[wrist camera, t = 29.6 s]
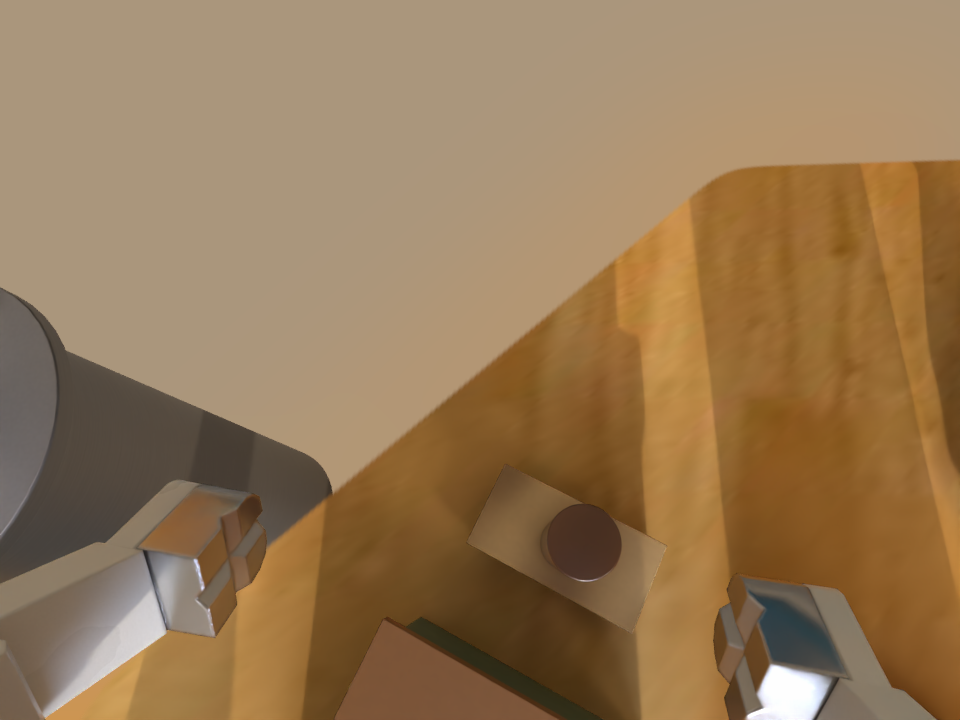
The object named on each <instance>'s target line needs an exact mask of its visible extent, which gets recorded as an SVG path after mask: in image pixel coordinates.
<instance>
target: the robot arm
mask: <svg viewBox="0 0 960 720" xmlns="http://www.w3.org/2000/svg"><path fill="white" fill-rule="evenodd" d="M261 512H262V506H261V501H260V497H259V496H257V495H255V494H253V493H248V492H243V491H238V490H233V489H228V488H222V487H217V486H212V485H207V484H198V483H193V482H188V481H183V480H175V481H172V482H170V483H168V484H167V485H166V486H165V487H164V488H163V489H162V490H160V491H159V492H158V493H157V494H156V495H155V496H154V497H153V498H152V499H151V500H150V501H149V502H148V503H147V504H146V505H145V506H144V507H143V508H142V509H141V510H140V511H139V512H138V513H136V514H135V515H134V516H133V517H132V518H131V519H130V520H129V521H128V522H127V523H126V524H125V525H124V526H123V527H122V528H121V529H120V530H119V531H118V532H117V533H116V534H115V535H114V536H112V537H111V538H110V539H109V540H108V541H107V542H106V543H100V542H96V543H94V544H91V545H89V546H87V547H84V548H82V549H80V550H77V551H75V552H73V553H71V554H68V555H66V556H64V557H61V558H59V559H57V560H54V561H52V562H50V563H47V564H45V565H43V566H40V567H38V568H36V569H34V570H31V571H29V572H27V573H24V574H22V575H20V576H17V577H15V578H13V579H10V580H8V581H6V582H3V583H1V584H0V720H45V718H46V717H47V716H48V715H50V714H51V713H53V712H54V711H56V710H57V709H59V708H60V707H61V706H62V705H64V704H66V703H67V702H69V701H70V700H71V699H73V698H74V697H76V696H77V695H79V694H80V693H81V692H83V691H84V690H86V689H87V688H89V687H90V686H91V685H93V684H94V683H95V682H97V681H99V680H100V679H102V678H103V677H104V676H106V675H107V674H109V673H110V672H111V671H113V670H114V669H116V668H117V667H119V666H120V665H122V664H123V663H124V662H126V661H127V660H129V659H130V658H132V657H133V656H135V655H136V654H137V653H139V652H140V651H142V650H143V649H145V648H146V647H147V646H149V645H150V644H152V643H153V642H155V641H156V640H157V639H159V638H160V637H162V636H163V635H165V634H166V633H167V630H171V631H177V632H183V633H189V634H195V635H200V636H206V637H212V638H215V637H216V636H217V634H218V633H219V631H220V630H221V628H222V627H223V625H224V624H225V622H226V621H227V619H228V618H229V616H230V615H231V613H232V612H233V610H234V609H235V607H236V606H237V597H236V592H237V591H239V590H241V589H242V588H244V587H246V586H248V585H249V584H251V583H252V581H253V580H254V578H255V577H256V575H257V574H258V572H259V570H260V568H261V565H262V562H263V560H264V557H265V554H266V545H267V538H266V530H265V529H264V528H263V527H262V525H261V524H260V523H259V522H258V521H257V520H256V519H257V518H258V516H259V515H260V514H261ZM727 593H728V597H729V600H730V603H729V604H727V605H725V606H723V607H722V608H720V609H719V612H718V615H717V618H716V621H715V626H714V639H713V643H714V654H715V659H716V664H717V669H718V671H719V672H720V673H721V675H722V676H723V677H724V678H725V679H726V680H727V682H728V683H729V684H730V685H729V687H728V690H727V692H726V695H725V697H724V699H725V704H726V708H727V712H728V716H729V720H937V719H935V718H934V717H933V716H932V715H931V714H930V713H929V712H928V711H926V710H925V709H924V708H923V707H922V706H921V705H920V704H918V703H917V702H916V701H915V700H914V699H913V698H912V697H911V696H909V695H908V694H907V693H906V692H905V691H904V690H900V689H895V688H892V687H891V685H890V683H889V681H888V679H887V677H886V675H885V673H884V671H883V669H882V668H881V666H880V664H879V662H878V660H877V658H876V656H875V654H874V652H873V650H872V648H871V646H870V644H869V642H868V640H867V639H866V637H865V635H864V633H863V631H862V629H861V627H860V625H859V623H858V621H857V619H856V617H855V615H854V613H853V612H852V610H851V608H850V606H849V604H848V602H847V600H846V598H845V596H844V594H842V593H841V592H840V591H839V590H838V589H836V588H829V587H823V586H816V585H810V584H800V583H796V582H790V581H783V580H777V579H771V578H764V577H758V576H751V575H745V574H739V573H736V574H735V575H734V576H733V577H732V578H731V580H730V582H729V585H728V587H727Z"/></svg>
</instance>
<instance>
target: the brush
mask: <svg viewBox="0 0 960 720" xmlns="http://www.w3.org/2000/svg"><path fill="white" fill-rule="evenodd" d="M466 543H468V544H469V545H471V546H473V547H475V548H477V549H478V550H480V551H482V552H484V553H486V554H488V555H489V556H491V557H493V558H495V559H497V560H498V561H500V562H502V563H504V564H506V565H508V566H509V567H511V568H513V569H515V570H517V571H519V572H520V573H522V574H524V575H526V576H528V577H529V578H531V579H533V580H535V581H537V582H539V583H540V584H542V585H544V586H546V587H548V588H549V589H551V590H553V591H555V592H557V593H559V594H560V595H562V596H564V597H566V598H568V599H570V600H571V601H573V602H575V603H577V604H579V605H580V606H582V607H584V608H586V609H588V610H590V611H591V612H593V613H595V614H597V615H599V616H600V617H602V618H604V619H606V620H608V621H610V622H611V623H613V624H615V625H617V626H619V627H620V628H622V629H624V630H626V631H628V632H630V633H633V630H634V628H635V625H636V623H637V620H638V618H639V615H640V613H641V610H642V608H643V605H644V603H645V600H646V598H647V595H648V593H649V590H650V588H651V585H652V583H653V580H654V578H655V575H656V573H657V570H658V568H659V565H660V563H661V560H662V558H663V555H664V553H665V550H666V548H667V545H665V544H663V543H661V542H659V541H657V540H655V539H653V538H651V537H650V536H648V535H646V534H644V533H642V532H640V531H638V530H636V529H634V528H632V527H630V526H628V525H626V524H624V523H622V522H620V521H618V520H616V519H614V518H612V517H611V516H610V515H609V514H608V513H606V512H605V511H604V510H602V509H600V508H598V507H596V506H593V505H590V504H584V503H582V502H580V501H578V500H576V499H574V498H572V497H570V496H569V495H567V494H565V493H563V492H561V491H559V490H557V489H555V488H553V487H551V486H549V485H547V484H545V483H543V482H541V481H539V480H537V479H535V478H533V477H531V476H529V475H527V474H525V473H523V472H521V471H519V470H517V469H515V468H513V467H511V466H509V465H507V464H505V465H504V467H503V469H502V471H501V473H500V475H499V477H498V479H497V481H496V483H495V485H494V488H493V490H492V492H491V494H490V496H489V498H488V500H487V502H486V504H485V506H484V508H483V510H482V512H481V514H480V516H479V518H478V520H477V522H476V524H475V526H474V528H473V530H472V532H471V534H470V536H469V538H468V540H467V542H466Z"/></svg>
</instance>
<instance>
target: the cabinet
mask: <svg viewBox="0 0 960 720" xmlns="http://www.w3.org/2000/svg"><path fill="white" fill-rule="evenodd" d="M333 720H603V719H601V718H600V717H598V716H596V715H594V714H593V713H591V712H589V711H587V710H585V709H584V708H582V707H580V706H578V705H577V704H575V703H573V702H571V701H569V700H568V699H566V698H564V697H562V696H561V695H559V694H557V693H555V692H553V691H552V690H550V689H548V688H546V687H545V686H543V685H541V684H539V683H537V682H536V681H534V680H532V679H530V678H529V677H527V676H525V675H523V674H522V673H520V672H518V671H516V670H514V669H513V668H511V667H509V666H507V665H506V664H504V663H502V662H500V661H498V660H497V659H495V658H493V657H491V656H490V655H488V654H486V653H484V652H482V651H481V650H479V649H477V648H475V647H474V646H472V645H470V644H468V643H466V642H465V641H463V640H461V639H459V638H458V637H456V636H454V635H452V634H450V633H449V632H447V631H445V630H443V629H442V628H440V627H438V626H436V625H434V624H433V623H431V622H429V621H427V620H426V619H424V618H422V617H420V618H419V619H417V620H416V621H414V622H413V623H411V624H409V625H408V626H406V627H405V626H403V625H401V624H399V623H398V622H396V621H394V620H392V619H391V618H389V617H386V618H384V619H383V620H382V622H381V624H380V626H379V628H378V630H377V632H376V634H375V636H374V638H373V640H372V642H371V644H370V646H369V648H368V650H367V652H366V654H365V656H364V659H363V661H362V663H361V665H360V667H359V669H358V671H357V673H356V675H355V677H354V679H353V681H352V682H351V683H350V685H349V688H348V691H347V693H346V695H345V697H344V699H343V701H342V703H341V705H340V707H339V709H338V711H337V713H336V715H335V717H334V719H333Z"/></svg>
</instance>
